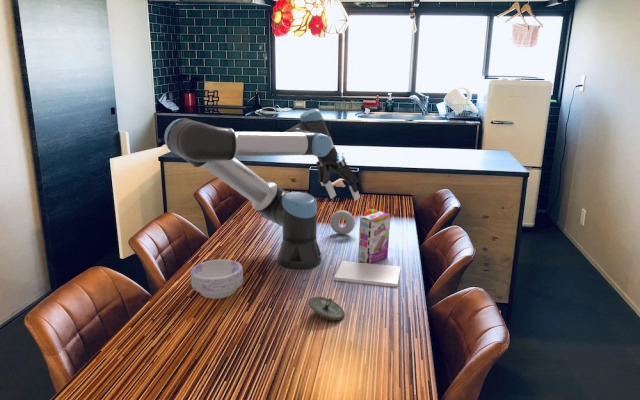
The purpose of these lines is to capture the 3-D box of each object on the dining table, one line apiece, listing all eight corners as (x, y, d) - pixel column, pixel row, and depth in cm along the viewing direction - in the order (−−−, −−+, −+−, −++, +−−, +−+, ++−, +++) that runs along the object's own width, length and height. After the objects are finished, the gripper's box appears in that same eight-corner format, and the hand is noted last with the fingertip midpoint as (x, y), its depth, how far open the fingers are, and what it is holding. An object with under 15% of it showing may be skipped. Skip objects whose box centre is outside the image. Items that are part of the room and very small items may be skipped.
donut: (355, 234, 204) (356, 210, 202) (353, 236, 201) (354, 212, 199) (331, 231, 207) (331, 208, 204) (329, 234, 204) (329, 210, 201)
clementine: (380, 228, 212) (381, 211, 210) (364, 227, 212) (364, 211, 210) (379, 222, 220) (379, 206, 218) (363, 221, 220) (363, 206, 218)
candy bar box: (368, 265, 173) (370, 220, 169) (357, 261, 177) (359, 216, 172) (388, 257, 181) (391, 213, 176) (377, 253, 184) (379, 210, 180)
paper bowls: (188, 286, 156) (186, 262, 154) (236, 278, 162) (235, 255, 160) (196, 308, 143) (195, 282, 140) (249, 298, 148) (248, 273, 146)
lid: (309, 305, 145) (309, 289, 144) (344, 306, 145) (344, 290, 143) (307, 324, 135) (307, 307, 133) (344, 325, 134) (345, 308, 133)
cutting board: (342, 263, 175) (342, 260, 174) (400, 269, 170) (400, 266, 170) (334, 280, 162) (334, 277, 161) (397, 286, 157) (397, 283, 157)
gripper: (354, 143, 180) (374, 194, 188) (310, 145, 199) (330, 191, 207) (341, 154, 176) (361, 205, 184) (297, 154, 195) (318, 200, 203)
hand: (345, 197), depth 196 cm, fingers open, 13 cm apart
